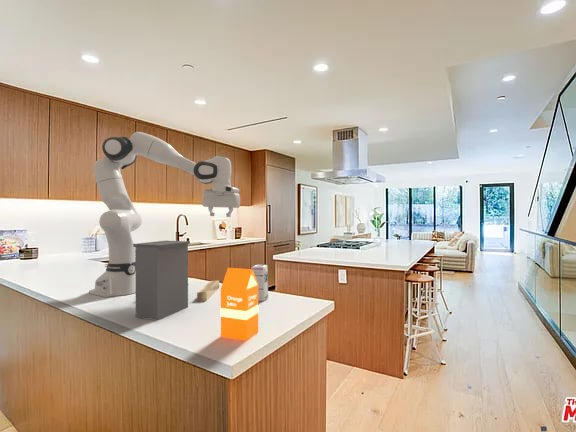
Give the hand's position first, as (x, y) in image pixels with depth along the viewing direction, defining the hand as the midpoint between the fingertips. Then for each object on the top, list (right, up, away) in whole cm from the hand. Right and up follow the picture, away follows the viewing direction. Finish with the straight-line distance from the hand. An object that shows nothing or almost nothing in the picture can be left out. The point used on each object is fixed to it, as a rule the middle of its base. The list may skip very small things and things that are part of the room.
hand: (220, 216), depth 158 cm
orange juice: (+19, -36, -61) cm, 74 cm away
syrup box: (+22, -36, -22) cm, 47 cm away
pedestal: (-13, -36, -39) cm, 55 cm away
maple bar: (-2, -36, -12) cm, 38 cm away
